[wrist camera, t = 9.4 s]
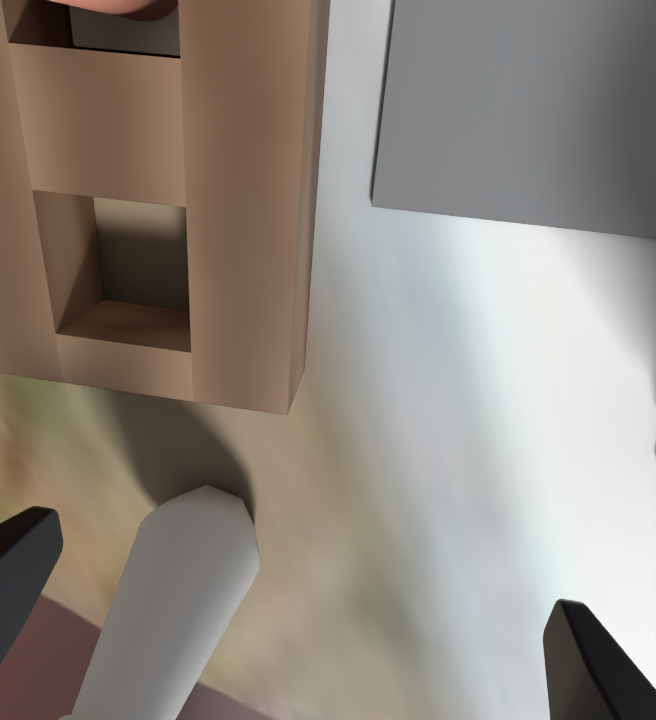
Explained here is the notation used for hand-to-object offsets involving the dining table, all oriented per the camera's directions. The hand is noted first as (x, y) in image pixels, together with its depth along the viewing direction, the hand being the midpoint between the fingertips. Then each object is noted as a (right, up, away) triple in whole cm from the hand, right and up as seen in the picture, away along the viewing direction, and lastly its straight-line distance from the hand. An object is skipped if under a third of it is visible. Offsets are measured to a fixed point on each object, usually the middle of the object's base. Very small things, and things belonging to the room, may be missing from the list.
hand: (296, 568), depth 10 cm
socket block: (-6, +12, +9) cm, 16 cm away
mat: (+8, +13, +7) cm, 16 cm away
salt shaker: (-5, -4, +18) cm, 19 cm away
